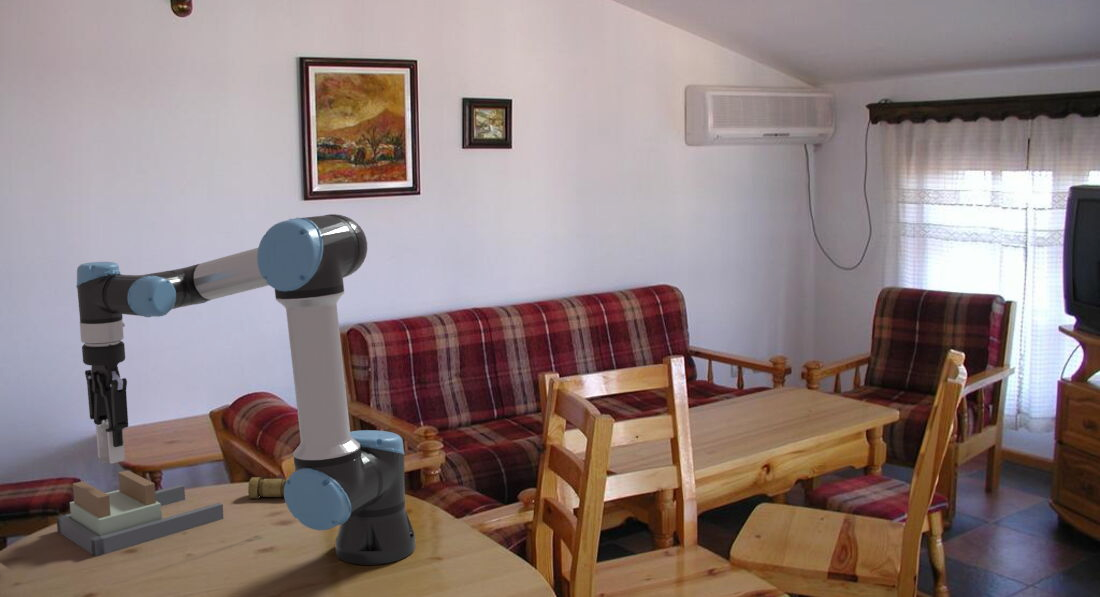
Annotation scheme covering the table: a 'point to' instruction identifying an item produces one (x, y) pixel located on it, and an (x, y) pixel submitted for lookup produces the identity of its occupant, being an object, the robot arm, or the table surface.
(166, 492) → the bay
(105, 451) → the rook chess piece
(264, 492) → the gavel
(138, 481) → the mint green base plate
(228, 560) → the table surface
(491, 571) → the table surface
